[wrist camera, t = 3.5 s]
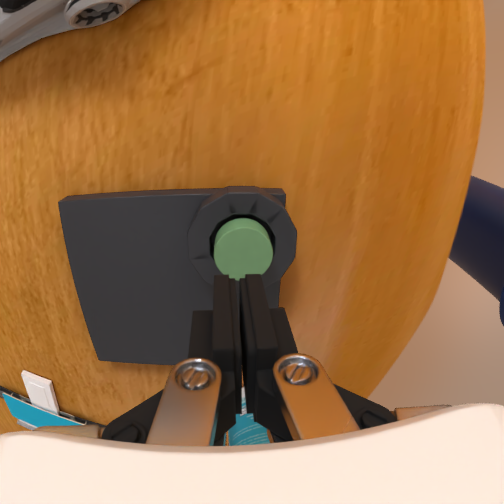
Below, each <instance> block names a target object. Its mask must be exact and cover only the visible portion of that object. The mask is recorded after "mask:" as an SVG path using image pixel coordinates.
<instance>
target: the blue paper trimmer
mask: <svg viewBox="0 0 504 504" xmlns="http://www.w3.org/2000/svg"><path fill="white" fill-rule="evenodd" d="M21 375H22V378H23V381H24V384H25V387H26V390H27V392H28V395H29V398H30V399H28V398H26V397H23V396H21V395H19V394H16V393H14V392H12V391H10V390H8V389H6V388H4V387H1V386H0V397H1V398H3V399H5V401H6V404H7V406H8V408H9V410H10V412H11V414H12V415H13V416H14V417H16V418H18V419H19V420H17V421H18V422H17V424H19V425H21V426H24V427H26V428H28V429H30V430H34V429H36V428H38V427H41V426H70V425H93V424H98V423H94V422H91V421H88V420H84V419H81V418H78V417H75V416H73V415H70V414H67V413H64V412H61V411H60V410H59V407H58V403H57V400H56V396H55V393H54V389H53V385H52V381H51V380H48V379H45V378H43V377H40V376H38V375H35V374H33V373H30V372H28V371H25V370H23V372H22V373H21ZM98 425H99V427H106V426H104V425H101V424H98Z"/></svg>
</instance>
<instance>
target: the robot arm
mask: <svg viewBox="0 0 504 504" xmlns="http://www.w3.org/2000/svg"><path fill="white" fill-rule="evenodd" d="M242 372H243V381H244V391H245V401H246V410H247V414H251V413H253V418H254V422H257V423H258V424H260V425H262V426H263V427H265V428H266V429H267V436H268V439H269V441H270V443H269V444H256V445H239V446H225V442H226V432H227V431H228V430H229V429H230V428H232V427H233V426H234V425H235V424H236V414H242ZM0 504H504V406H502V405H498V404H492V403H472V404H462V405H457V406H451V405H434V406H423V407H406V408H395V410H394V411H389V410H388V409H386V408H385V407H383V406H381V405H379V404H376V403H374V402H372V401H370V400H368V399H365V398H363V397H361V396H359V395H356V394H354V393H352V392H350V391H348V390H346V389H343V388H341V387H339V386H337V385H335V384H333V383H332V381H331V380H330V378H329V376H328V375H327V373H326V371H325V369H324V368H323V366H322V365H321V364H320V362H319V361H318V360H316V359H315V358H313V357H312V356H309V355H306V354H300V353H298V351H297V347H296V344H295V341H294V338H293V334H292V331H291V328H290V325H289V322H288V318H287V315H286V312H285V309H284V308H269V306H268V302H267V298H266V294H265V290H264V286H263V282H262V278H261V274H245V278H240V279H239V317H238V306H237V295H236V285H235V278H229V274H228V275H214V289H213V310H193V315H192V324H191V333H190V342H189V353H188V359H184V360H182V361H180V362H178V363H177V364H176V365H175V366H173V368H172V370H171V371H170V374H169V376H168V379H167V382H166V385H165V388H164V389H163V390H161V391H160V392H158V393H157V394H155V395H154V396H152V397H150V398H149V399H147V400H146V401H144V402H142V403H141V404H139V405H138V406H136V407H134V408H133V409H131V410H130V411H128V412H126V413H125V414H123V415H121V416H120V417H118V418H116V419H115V420H113V421H112V422H110V423H109V424H108V425H107V426H106V427H99V425H98V424H93V425H70V426H41V427H38V428H36V429H34V430H33V431H18V432H9V433H5V434H1V435H0Z"/></svg>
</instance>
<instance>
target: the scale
mask: <svg viewBox="0 0 504 504" xmlns="http://www.w3.org/2000/svg"><path fill="white" fill-rule="evenodd" d="M285 199H286V194H285V193H284V191H283V190H282V189H277V188H259V187H255V186H228V187H225V188H213V189H173V190H149V191H130V192H113V193H99V194H86V195H74V196H67V197H65V198H64V199H62V200H60V201H59V202H58V204H59V211H60V217H61V223H62V228H63V234H64V239H65V244H66V249H67V253H68V258H69V262H70V267H71V271H72V275H73V279H74V283H75V287H76V290H77V294H78V298H79V301H80V305H81V308H82V311H83V315H84V318H85V321H86V324H87V328H88V331H89V334H90V337H91V340H92V342H93V345H94V348H95V351H96V354H97V356H98V359H99V360H100V361H111V362H123V363H138V364H157V365H176V364H177V363H178V362H180V361H182V360H184V359H188V353H189V342H190V333H191V324H192V315H193V310H213V289H214V275H224V274H223V273H222V272H221V271H220V270H219V269H218V267H217V266H216V264H215V260H214V245H215V238H216V235H217V233H218V231H219V229H220V228H221V227H222V226H223V225H224V224H225V223H227V222H228V221H231V220H233V219H237V218H249V219H252V220H255V221H257V222H258V223H260V224H261V225H262V226H263V227H264V228H265V230H266V231H267V233H268V236H269V239H270V242H271V245H272V248H273V258H272V262H271V264H270V266H269V268H268V269H267V270H266V271H265V272H264V273H263V274H262V275H261V278H262V282H263V286H264V290H265V294H266V298H267V302H268V306H269V308H278V306H279V293H280V279H281V277H282V276H283V274H284V273H285V272H286V270H287V269H288V267H289V266H290V265H291V263H292V262H293V260H294V258H295V254H296V241H297V230H296V228H295V226H294V224H293V223H292V221H291V219H290V217H289V215H288V213H287V211H286V209H285ZM235 285H236V295H237V306H238V317H239V281H238V280H235Z"/></svg>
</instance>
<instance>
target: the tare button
mask: <svg viewBox="0 0 504 504" xmlns="http://www.w3.org/2000/svg"><path fill="white" fill-rule="evenodd" d="M272 258H273V248H272V245H271V242H270V239H269V236H268V233H267V231H266V230H265V228H264V227H263V226H262V225H261V224H260V223H258V222H257V221H255V220H252V219H249V218H237V219H233V220H231V221H228V222H227V223H225V224H224V225H223V226H222V227H221V228H220V229H219V231H218V233H217V235H216V238H215V245H214V260H215V264H216V266H217V267H218V269H219V270H220V271H221V272H222V273H223V274H224V275H228V274H229V278H235V280H238V281H239V279H240V278H245V274H261V275H262V274H263V273H264V272H265V271H266V270H267V269H268V268H269V266H270V264H271V262H272Z"/></svg>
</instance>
